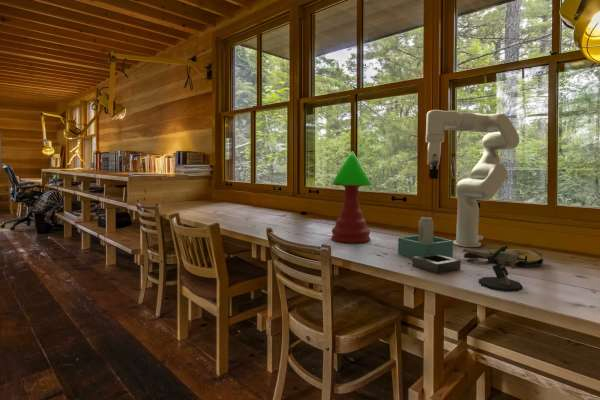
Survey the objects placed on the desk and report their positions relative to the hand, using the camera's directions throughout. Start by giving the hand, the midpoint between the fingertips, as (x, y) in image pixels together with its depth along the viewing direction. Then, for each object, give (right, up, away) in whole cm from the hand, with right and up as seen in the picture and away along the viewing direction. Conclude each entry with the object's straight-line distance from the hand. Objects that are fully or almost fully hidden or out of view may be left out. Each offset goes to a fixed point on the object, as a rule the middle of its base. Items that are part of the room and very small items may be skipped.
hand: (433, 178), depth 171 cm
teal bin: (-6, -33, -7) cm, 34 cm away
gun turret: (+4, -37, -44) cm, 58 cm away
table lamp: (-33, -30, +26) cm, 52 cm away
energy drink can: (-6, -32, -7) cm, 34 cm away
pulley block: (+22, -35, -18) cm, 45 cm away
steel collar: (-8, -35, -26) cm, 44 cm away
